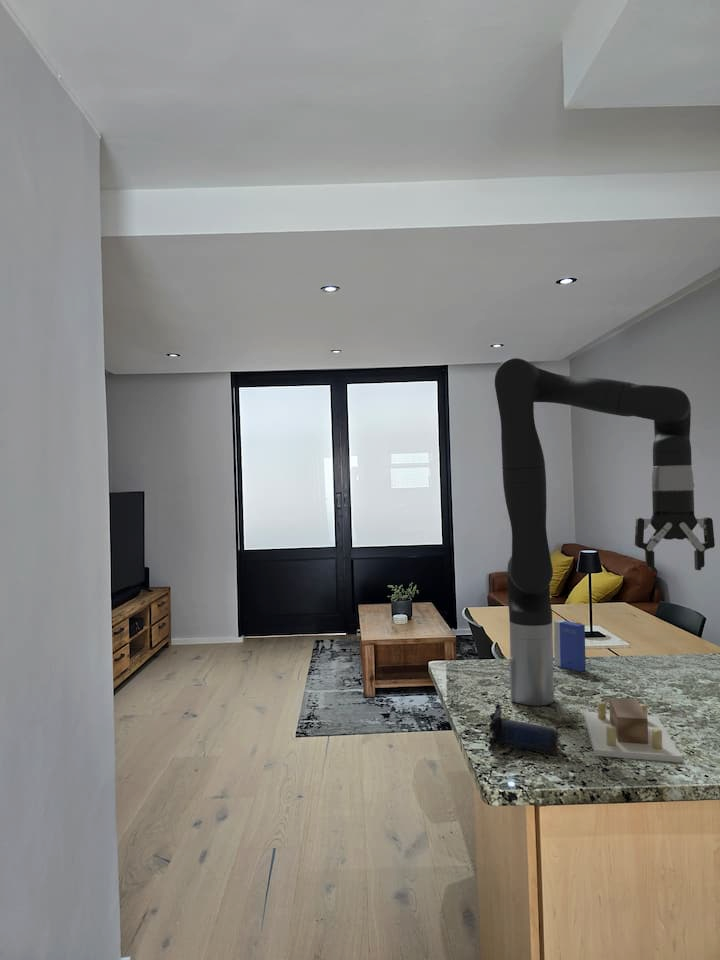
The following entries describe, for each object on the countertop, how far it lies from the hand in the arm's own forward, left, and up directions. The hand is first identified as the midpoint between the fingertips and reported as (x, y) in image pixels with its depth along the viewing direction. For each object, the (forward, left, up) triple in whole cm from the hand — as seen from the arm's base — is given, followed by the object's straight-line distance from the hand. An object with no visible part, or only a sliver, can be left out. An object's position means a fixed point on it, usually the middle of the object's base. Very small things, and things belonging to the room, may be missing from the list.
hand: (674, 569), depth 131 cm
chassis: (-11, -11, -30) cm, 34 cm away
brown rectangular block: (-11, -11, -29) cm, 33 cm away
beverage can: (-30, -20, -31) cm, 47 cm away
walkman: (-18, +36, -30) cm, 50 cm away
